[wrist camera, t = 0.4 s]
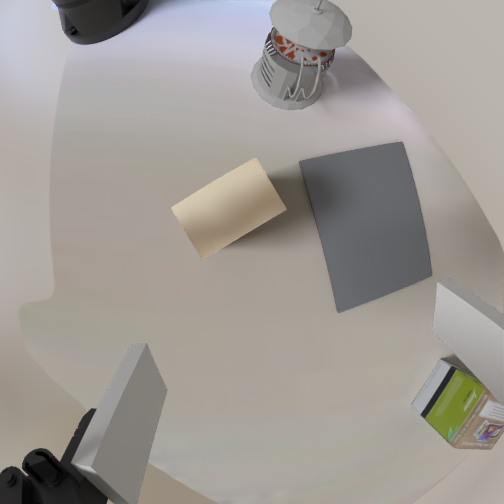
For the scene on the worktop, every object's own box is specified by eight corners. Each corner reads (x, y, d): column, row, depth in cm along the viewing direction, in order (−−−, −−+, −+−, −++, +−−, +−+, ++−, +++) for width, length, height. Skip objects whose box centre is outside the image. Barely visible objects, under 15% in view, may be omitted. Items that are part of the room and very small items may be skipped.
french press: (320, 56, 34) (394, -66, 9) (324, 126, 35) (436, 18, 10) (252, 48, 33) (275, -95, 9) (249, 119, 34) (278, -28, 10)
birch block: (191, 213, 35) (170, 207, 23) (249, 178, 35) (258, 155, 23) (212, 248, 36) (202, 260, 24) (270, 213, 36) (289, 207, 24)
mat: (298, 162, 35) (299, 161, 35) (400, 142, 36) (402, 141, 35) (337, 311, 37) (338, 312, 37) (429, 275, 38) (431, 275, 38)
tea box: (476, 374, 41) (523, 404, 27) (450, 415, 42) (490, 452, 27) (439, 356, 40) (494, 392, 25) (408, 405, 40) (453, 451, 26)
